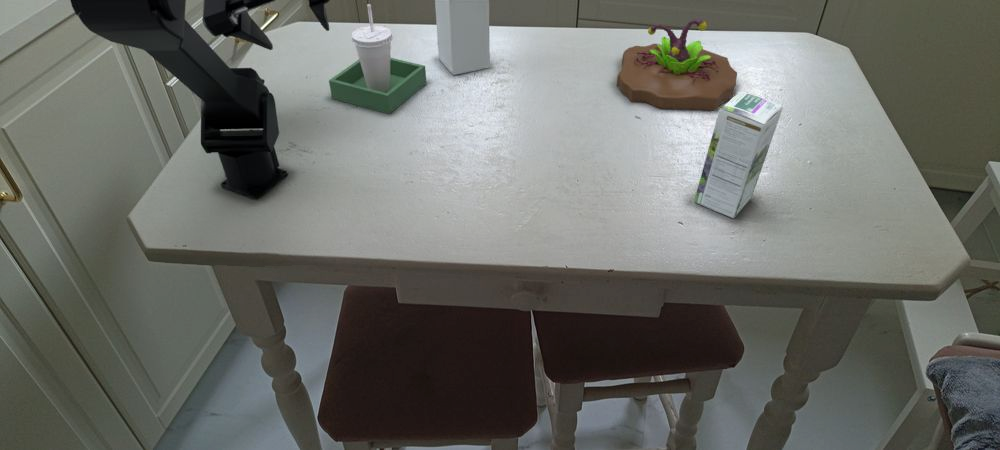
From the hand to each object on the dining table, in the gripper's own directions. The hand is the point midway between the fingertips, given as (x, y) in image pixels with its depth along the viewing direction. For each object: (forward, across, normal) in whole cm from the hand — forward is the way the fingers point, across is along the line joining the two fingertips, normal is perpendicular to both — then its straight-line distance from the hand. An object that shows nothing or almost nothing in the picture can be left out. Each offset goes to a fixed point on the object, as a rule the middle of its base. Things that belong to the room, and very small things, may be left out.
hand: (299, 38), depth 96 cm
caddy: (+15, -6, 0) cm, 17 cm away
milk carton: (+22, -20, -6) cm, 31 cm away
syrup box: (+17, -51, +37) cm, 65 cm away
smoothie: (+15, -6, 0) cm, 16 cm away
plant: (+29, -55, +6) cm, 62 cm away
